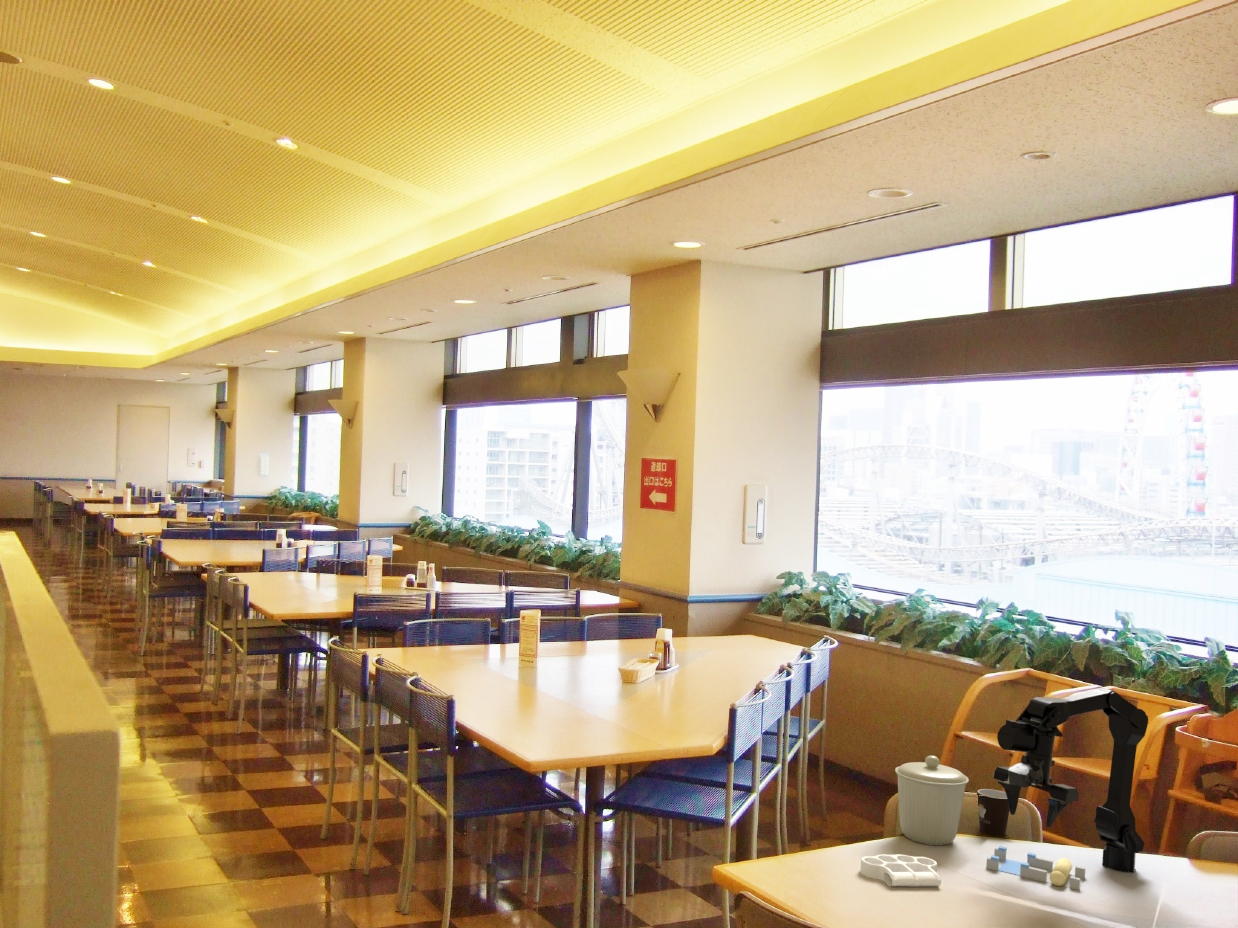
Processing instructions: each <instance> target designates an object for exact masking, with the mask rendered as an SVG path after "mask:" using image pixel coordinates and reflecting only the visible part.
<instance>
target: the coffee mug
mask: <svg viewBox="0 0 1238 928" xmlns="http://www.w3.org/2000/svg"><path fill="white" fill-rule="evenodd" d="M976 794H977V795H978V804H977V807H978V821H979V831H980V833H981V832H982V833H984V834H986V835H990V836H995V837H996V836H998V837H1001V836H1005V835H1006V833H1007V829H1008V828H1007V827H1008V821H1009V815H1010V809H1009V804H1008V799H1007V795H1006V792H1005V791H1002V790H996V789H991V788H990V789H988V788H983V789H981V788H980V789H977V791H976ZM979 795H985V796H979ZM986 795H988V796H986ZM989 796H991V797H989ZM995 797H1001V798H995Z"/></svg>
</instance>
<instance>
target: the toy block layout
mask: <svg viewBox="0 0 1238 928" xmlns="http://www.w3.org/2000/svg"><path fill="white" fill-rule="evenodd" d="M1007 849H1008V848H1007V847H1006V846H1001V845H999V846H998V847H995V848H994V851H993V852H994V855H991V856H990V857H988V856H987V858H986V864H985V865H986V866H985V867H986V869H988V870H993V871H998V872H1001V873H1006V874H1010V875H1013V876H1017V877H1022V878H1026V879H1030V880H1035V881H1039V882H1043V883H1048V884H1052V885H1054V884H1053V883H1052V882H1051V880H1050V874H1051V872H1052V871H1053V869H1054V860H1051V859H1047V858H1043V857H1039V856H1037V854H1036V853H1034V852H1028V853H1027V855H1026V859H1027V860H1026V862H1023V861H1021V862H1020V861H1017V860H1011V859H1007ZM1074 867H1075V869H1074V874H1071V873H1069V875H1068V877H1067V879H1066V881H1065V882H1064V884H1063V885H1061V886H1060V887H1065V888H1069V889H1073V890H1077V891H1079V890H1080V889H1081V887H1082V885H1083V883H1084V880H1085V878H1086V867H1082V866H1079V865H1076V866H1074Z"/></svg>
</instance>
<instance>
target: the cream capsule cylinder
mask: <svg viewBox="0 0 1238 928" xmlns="http://www.w3.org/2000/svg"><path fill="white" fill-rule="evenodd" d="M1072 869H1073V864H1072V862H1071V861H1070V860H1069V859H1068V858H1065V857H1062V858H1060V859H1058V860H1057V861H1056V864H1055V865H1054V866H1053V871H1052V872H1051V874H1050V880H1051V882H1052V883H1053V884H1052V885H1054V886H1057V887H1062V886H1061V885H1063V884H1064V882H1065V881H1066V879H1067V877H1068V875H1069V874H1071V871H1072Z"/></svg>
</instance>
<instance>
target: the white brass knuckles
mask: <svg viewBox="0 0 1238 928" xmlns="http://www.w3.org/2000/svg"><path fill="white" fill-rule="evenodd" d="M937 868H938V863H937V861H936V860H934V859H932V858H929V857H927V856H913V855H912V856H911V855H907V854H899V853H897V854H886V853H885V854H877V855H875V856H867V855H865V856H862V857H861V858H860V872H859V873H860V874H861V875H862V876H865V877H868V878H871V879H875V880H876V879H877V880H881V881H883V882H885V884H886V885H887V886H888V887H891V888H892V887H893V888H894V887H913V888H914V887H915V888H916V887H935V888H937V887H941V884H942V879H941V876H940V875H939V873H937V871H938V869H937Z"/></svg>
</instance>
